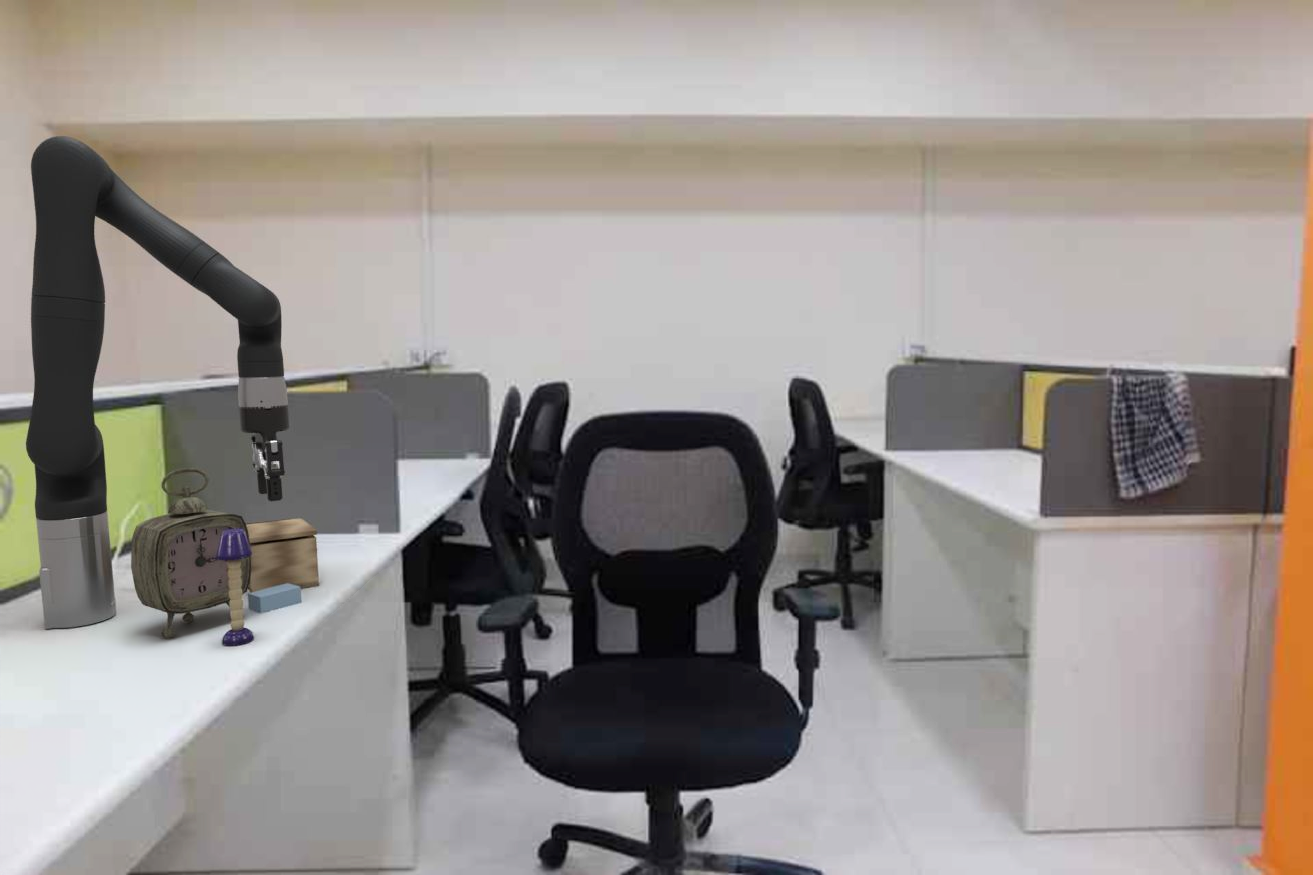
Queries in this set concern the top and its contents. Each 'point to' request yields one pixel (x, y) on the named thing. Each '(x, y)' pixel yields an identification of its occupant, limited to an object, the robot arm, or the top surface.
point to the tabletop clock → (184, 556)
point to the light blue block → (274, 598)
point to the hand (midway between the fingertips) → (270, 496)
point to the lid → (279, 530)
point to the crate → (284, 563)
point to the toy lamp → (235, 582)
